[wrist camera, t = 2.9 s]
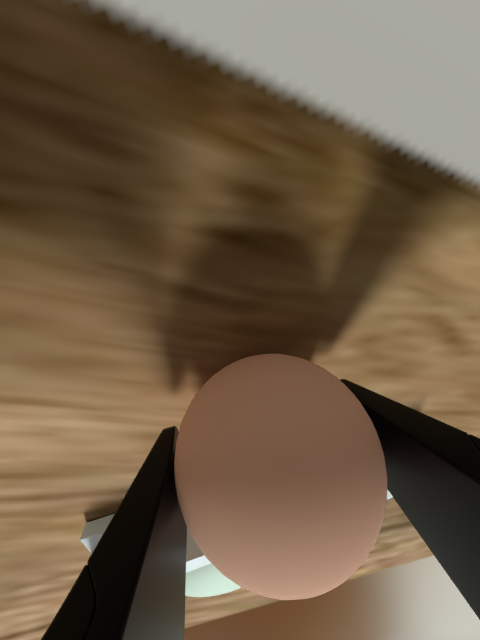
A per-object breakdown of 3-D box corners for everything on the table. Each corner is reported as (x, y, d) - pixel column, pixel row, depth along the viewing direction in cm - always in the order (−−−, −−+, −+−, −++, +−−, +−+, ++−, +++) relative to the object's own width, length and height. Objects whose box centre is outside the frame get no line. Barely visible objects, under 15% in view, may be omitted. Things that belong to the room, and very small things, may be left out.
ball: (313, 308, 8) (498, 437, 3) (315, 419, 11) (427, 590, 6) (157, 344, 8) (111, 572, 3) (195, 455, 10) (207, 686, 5)
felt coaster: (274, 511, 13) (275, 518, 13) (282, 565, 16) (283, 571, 15) (155, 552, 12) (154, 560, 12) (186, 601, 15) (185, 609, 14)
